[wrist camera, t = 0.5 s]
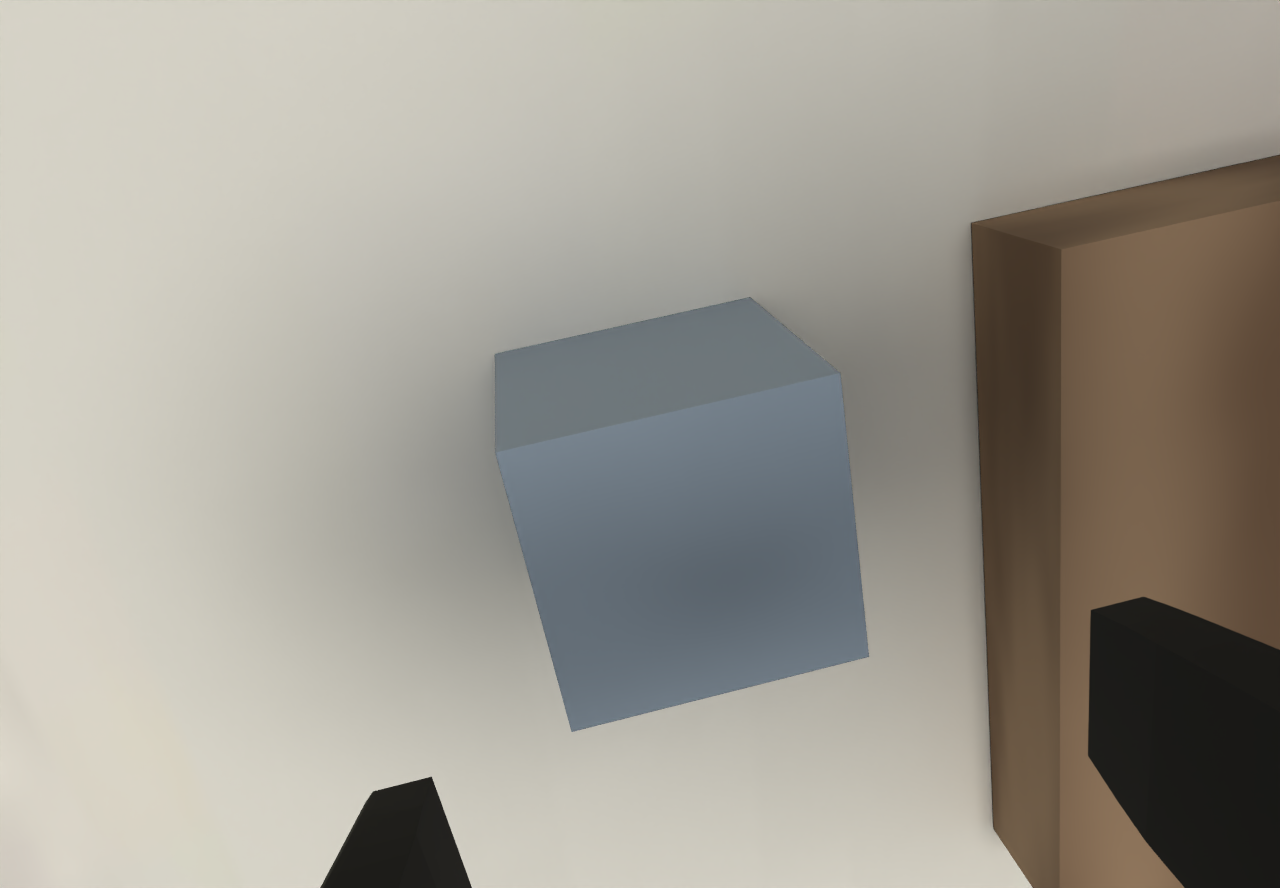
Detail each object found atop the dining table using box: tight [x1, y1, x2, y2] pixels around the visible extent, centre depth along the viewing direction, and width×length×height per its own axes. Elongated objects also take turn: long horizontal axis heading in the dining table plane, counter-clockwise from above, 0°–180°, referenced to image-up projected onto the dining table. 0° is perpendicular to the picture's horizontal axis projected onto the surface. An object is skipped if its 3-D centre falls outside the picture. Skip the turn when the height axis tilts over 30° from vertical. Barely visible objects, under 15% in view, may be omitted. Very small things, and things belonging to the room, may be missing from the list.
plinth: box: [972, 155, 1280, 888], centre depth 19 cm, size 10×16×3 cm, turn 11°
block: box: [495, 297, 869, 732], centre depth 16 cm, size 5×5×5 cm
